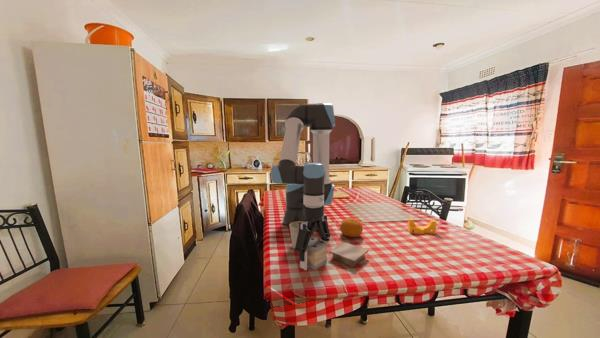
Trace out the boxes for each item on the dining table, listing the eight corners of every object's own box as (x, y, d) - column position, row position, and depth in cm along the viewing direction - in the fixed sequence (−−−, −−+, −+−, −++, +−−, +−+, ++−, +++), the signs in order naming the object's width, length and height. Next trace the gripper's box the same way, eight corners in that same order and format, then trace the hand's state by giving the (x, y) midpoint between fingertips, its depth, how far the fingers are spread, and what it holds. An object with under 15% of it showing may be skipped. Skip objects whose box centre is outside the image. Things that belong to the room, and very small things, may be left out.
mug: (294, 252, 92) (294, 229, 91) (282, 241, 103) (282, 220, 102) (312, 248, 96) (312, 225, 95) (298, 237, 107) (298, 217, 106)
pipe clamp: (409, 233, 112) (410, 220, 111) (407, 230, 116) (408, 218, 115) (436, 235, 109) (437, 223, 108) (434, 232, 113) (434, 220, 112)
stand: (328, 258, 87) (329, 251, 87) (343, 248, 96) (343, 241, 95) (354, 268, 80) (354, 260, 80) (368, 257, 88) (368, 249, 88)
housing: (300, 263, 84) (300, 242, 83) (312, 256, 89) (312, 236, 88) (315, 270, 79) (315, 248, 79) (326, 262, 85) (326, 241, 84)
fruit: (355, 242, 102) (356, 225, 101) (336, 235, 109) (336, 219, 108) (366, 235, 110) (366, 219, 109) (347, 229, 117) (347, 214, 116)
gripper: (300, 214, 71) (300, 280, 73) (339, 200, 88) (338, 254, 90) (283, 210, 76) (284, 271, 78) (324, 197, 93) (323, 248, 95)
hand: (313, 262), depth 84 cm, fingers open, 11 cm apart
